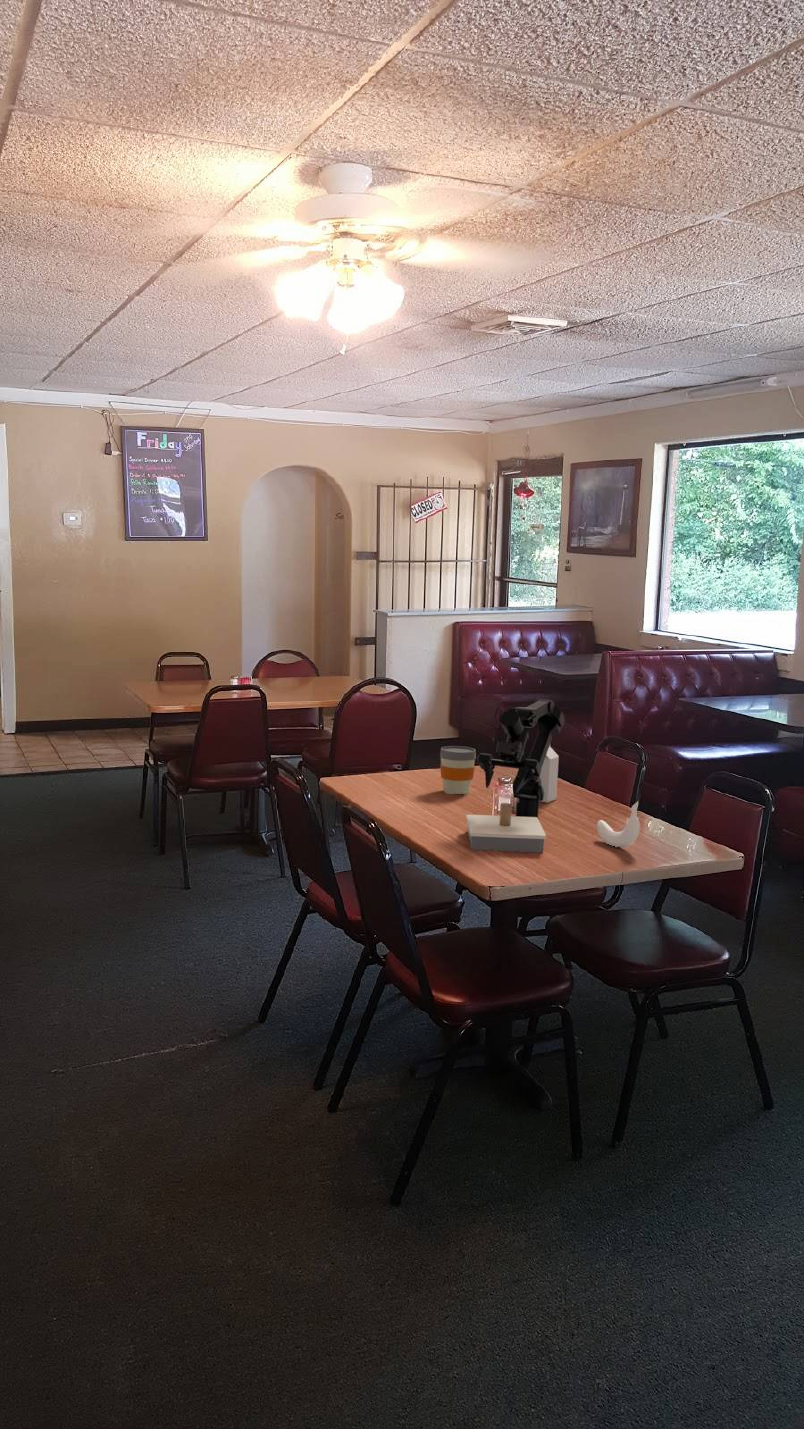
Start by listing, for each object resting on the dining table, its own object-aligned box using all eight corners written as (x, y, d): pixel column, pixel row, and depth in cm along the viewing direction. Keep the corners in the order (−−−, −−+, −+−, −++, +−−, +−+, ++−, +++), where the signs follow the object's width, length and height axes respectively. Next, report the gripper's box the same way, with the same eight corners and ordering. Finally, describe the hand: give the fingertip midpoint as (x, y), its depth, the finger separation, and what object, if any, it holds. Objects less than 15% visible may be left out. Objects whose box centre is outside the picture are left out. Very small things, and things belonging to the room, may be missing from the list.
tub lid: (536, 824, 318) (538, 797, 317) (545, 843, 297) (547, 814, 296) (466, 821, 318) (467, 794, 317) (470, 840, 297) (471, 811, 296)
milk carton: (556, 799, 365) (559, 744, 362) (547, 803, 359) (550, 747, 356) (537, 796, 368) (540, 742, 366) (528, 799, 362) (531, 744, 360)
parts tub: (534, 833, 318) (535, 820, 317) (543, 852, 298) (543, 838, 298) (467, 831, 318) (468, 818, 317) (471, 849, 298) (472, 835, 298)
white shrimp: (601, 837, 318) (604, 788, 315) (643, 854, 301) (647, 803, 299) (587, 838, 315) (591, 790, 313) (629, 855, 299) (633, 804, 297)
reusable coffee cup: (440, 786, 377) (442, 745, 375) (475, 789, 376) (477, 747, 374) (436, 794, 365) (438, 751, 363) (473, 797, 364) (475, 753, 361)
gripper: (479, 726, 319) (464, 771, 312) (539, 733, 311) (525, 779, 304) (489, 746, 328) (474, 790, 321) (547, 753, 320) (533, 798, 313)
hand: (501, 789), depth 314 cm, fingers open, 9 cm apart
